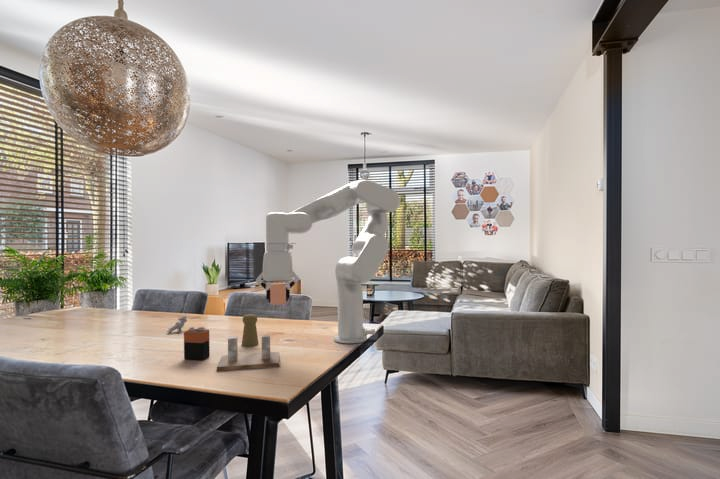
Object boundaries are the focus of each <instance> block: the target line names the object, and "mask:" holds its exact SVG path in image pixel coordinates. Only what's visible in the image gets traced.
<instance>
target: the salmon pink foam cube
mask: <svg viewBox="0 0 720 479" xmlns="http://www.w3.org/2000/svg"><path fill="white" fill-rule="evenodd" d="M269 288H270V302H269V303H270V304H269V305H270V306H273V305H274V306H277V305H281V306H282V305H286V304H287V301H286V284H285V282H283V283H282V282H281V283H277V282H276V283H271V284H270V287H269Z"/></svg>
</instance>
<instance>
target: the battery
mask: <svg viewBox="0 0 720 479" xmlns="http://www.w3.org/2000/svg"><path fill="white" fill-rule="evenodd" d="M210 351H211V350H210V329H206V328H205V327H203V326H200V327H198V328H195V327H193V326H192V327H189V329H187V330H184V332H183V352H184V353H183V359H184V360H187V361H204V360H206V359H208V358H210V357H211V356H210V355H211V354H210Z"/></svg>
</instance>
